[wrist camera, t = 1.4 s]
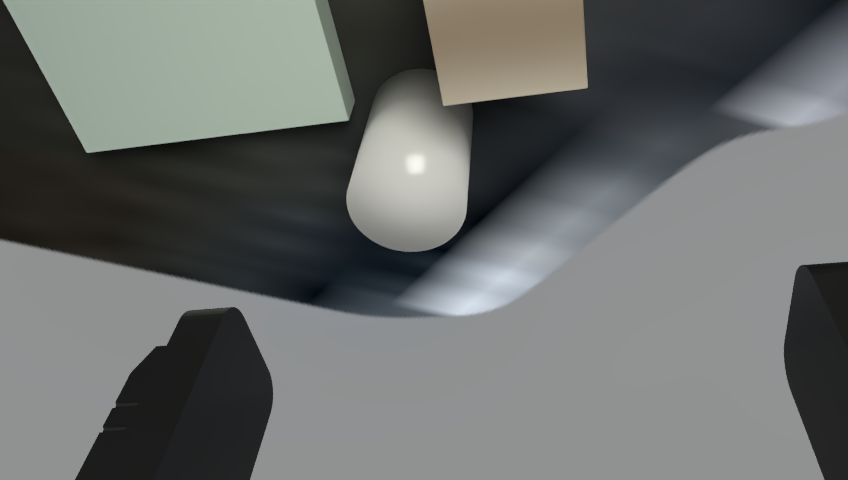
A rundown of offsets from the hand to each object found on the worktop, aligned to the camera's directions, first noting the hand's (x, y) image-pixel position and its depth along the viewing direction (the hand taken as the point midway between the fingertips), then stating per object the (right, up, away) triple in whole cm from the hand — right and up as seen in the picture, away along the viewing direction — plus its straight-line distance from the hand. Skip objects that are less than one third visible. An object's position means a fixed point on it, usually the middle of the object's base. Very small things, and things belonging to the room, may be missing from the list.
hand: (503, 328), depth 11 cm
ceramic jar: (-1, +6, +18) cm, 19 cm away
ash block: (+2, +11, +14) cm, 18 cm away
